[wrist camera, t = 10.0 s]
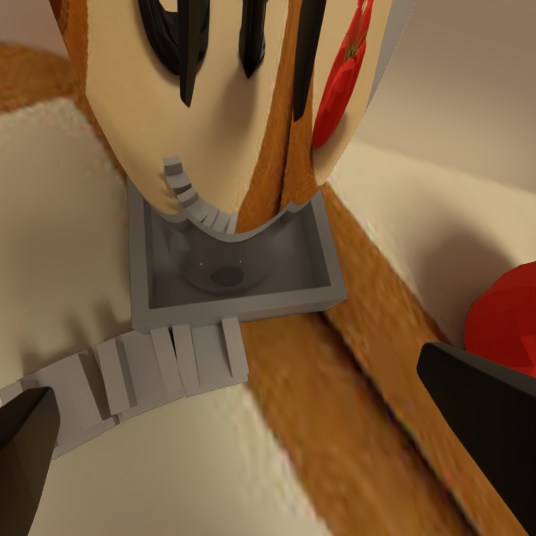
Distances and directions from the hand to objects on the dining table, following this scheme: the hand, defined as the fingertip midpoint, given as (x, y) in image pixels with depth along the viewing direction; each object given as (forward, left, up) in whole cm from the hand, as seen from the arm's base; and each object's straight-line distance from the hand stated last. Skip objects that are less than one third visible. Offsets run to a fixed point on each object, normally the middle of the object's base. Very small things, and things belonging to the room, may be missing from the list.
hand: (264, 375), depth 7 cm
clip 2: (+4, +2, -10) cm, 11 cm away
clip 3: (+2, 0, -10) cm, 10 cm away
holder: (+5, -7, -10) cm, 13 cm away
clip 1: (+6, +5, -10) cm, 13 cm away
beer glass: (+5, -6, -9) cm, 12 cm away
